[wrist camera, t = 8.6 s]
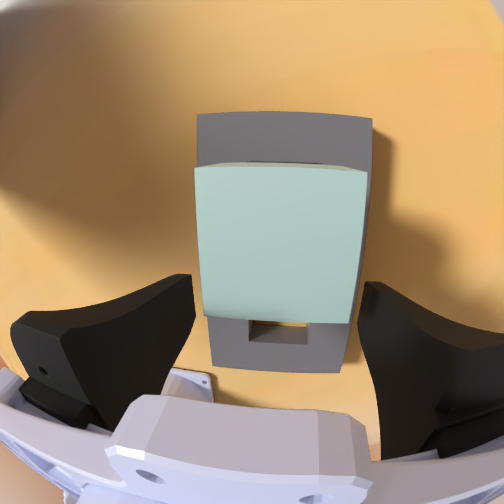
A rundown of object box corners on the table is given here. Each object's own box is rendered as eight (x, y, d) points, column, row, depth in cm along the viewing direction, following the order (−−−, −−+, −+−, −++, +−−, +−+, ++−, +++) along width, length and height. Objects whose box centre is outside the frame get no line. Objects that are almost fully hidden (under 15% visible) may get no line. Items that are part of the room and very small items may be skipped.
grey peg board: (336, 355, 21) (339, 373, 19) (218, 349, 23) (212, 365, 21) (362, 122, 15) (372, 118, 13) (207, 118, 16) (197, 114, 14)
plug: (326, 254, 13) (348, 323, 8) (237, 250, 14) (204, 315, 8) (331, 163, 12) (367, 172, 6) (236, 160, 12) (194, 168, 7)
